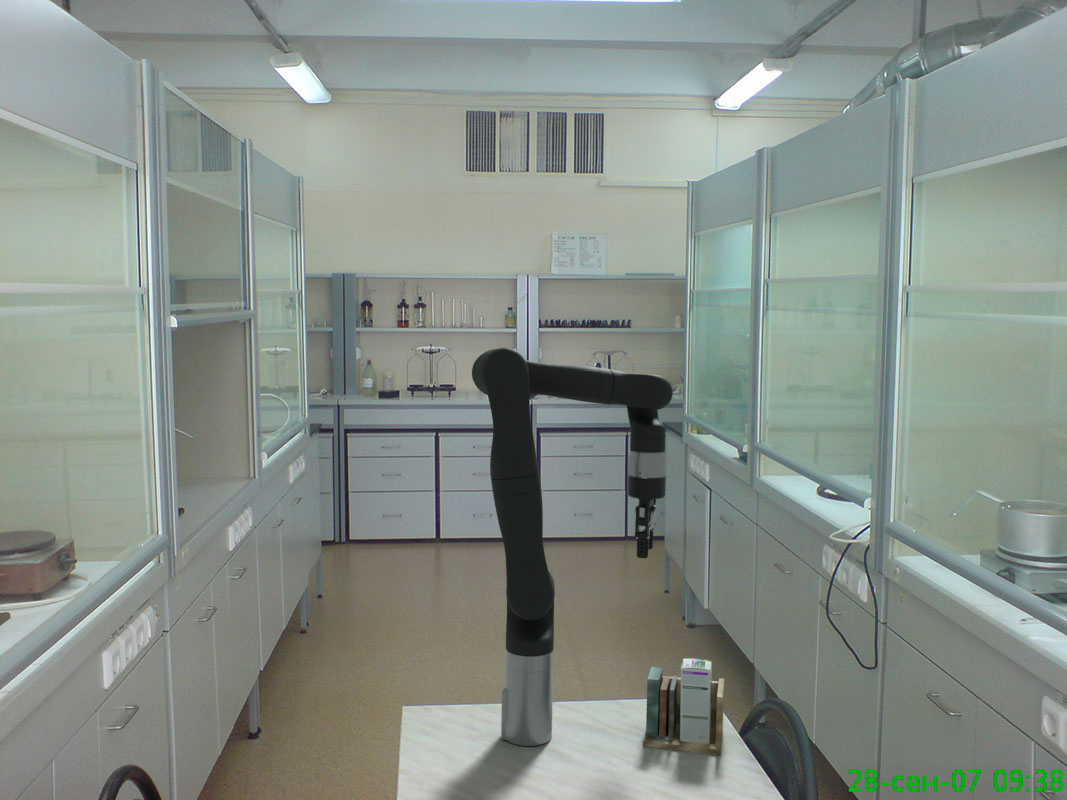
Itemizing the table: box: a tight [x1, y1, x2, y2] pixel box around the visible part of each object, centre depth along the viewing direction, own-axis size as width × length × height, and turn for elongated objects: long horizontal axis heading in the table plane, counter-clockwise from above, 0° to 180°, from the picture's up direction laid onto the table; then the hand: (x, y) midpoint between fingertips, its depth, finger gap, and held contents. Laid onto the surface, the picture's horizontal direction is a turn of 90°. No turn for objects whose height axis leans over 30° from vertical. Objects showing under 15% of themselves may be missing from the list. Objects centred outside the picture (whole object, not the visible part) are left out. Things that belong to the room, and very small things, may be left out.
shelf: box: [642, 666, 725, 756], centre depth 176 cm, size 14×11×12 cm
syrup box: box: [680, 658, 713, 745], centre depth 174 cm, size 6×6×14 cm
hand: (644, 553), depth 184 cm, fingers open, 8 cm apart
